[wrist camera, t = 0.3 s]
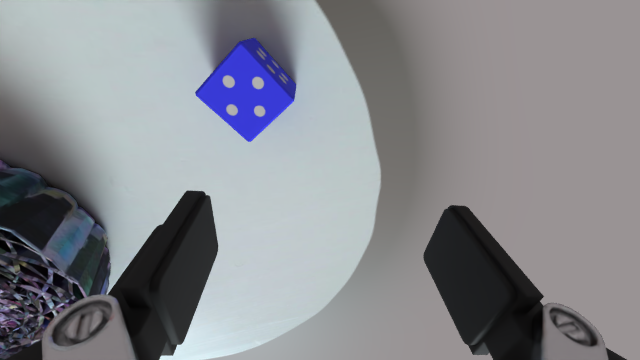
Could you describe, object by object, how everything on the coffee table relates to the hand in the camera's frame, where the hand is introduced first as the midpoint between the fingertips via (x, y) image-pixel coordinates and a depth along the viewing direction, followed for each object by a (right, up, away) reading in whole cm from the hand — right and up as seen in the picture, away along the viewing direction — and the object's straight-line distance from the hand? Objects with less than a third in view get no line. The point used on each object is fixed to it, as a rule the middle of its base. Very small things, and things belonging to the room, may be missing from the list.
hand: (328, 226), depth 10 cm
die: (-6, +10, +12) cm, 17 cm away
